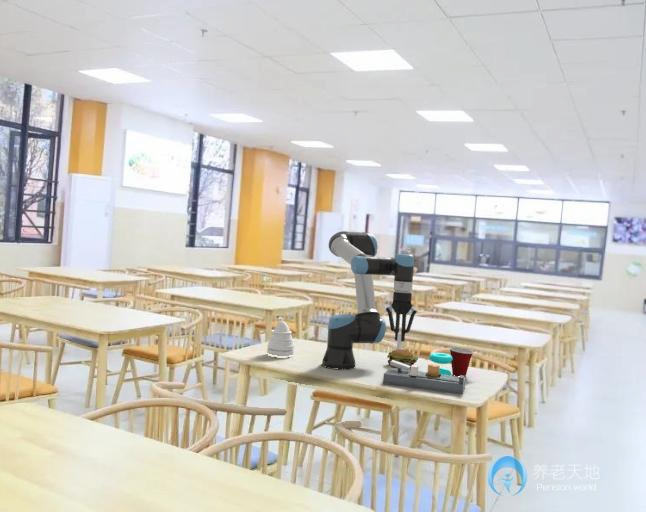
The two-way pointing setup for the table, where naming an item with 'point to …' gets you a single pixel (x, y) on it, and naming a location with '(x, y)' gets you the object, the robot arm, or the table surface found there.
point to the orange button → (433, 370)
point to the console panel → (425, 381)
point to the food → (402, 357)
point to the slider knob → (414, 370)
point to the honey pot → (281, 340)
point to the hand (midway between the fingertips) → (399, 348)
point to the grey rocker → (400, 365)
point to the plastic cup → (460, 360)
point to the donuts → (441, 361)
